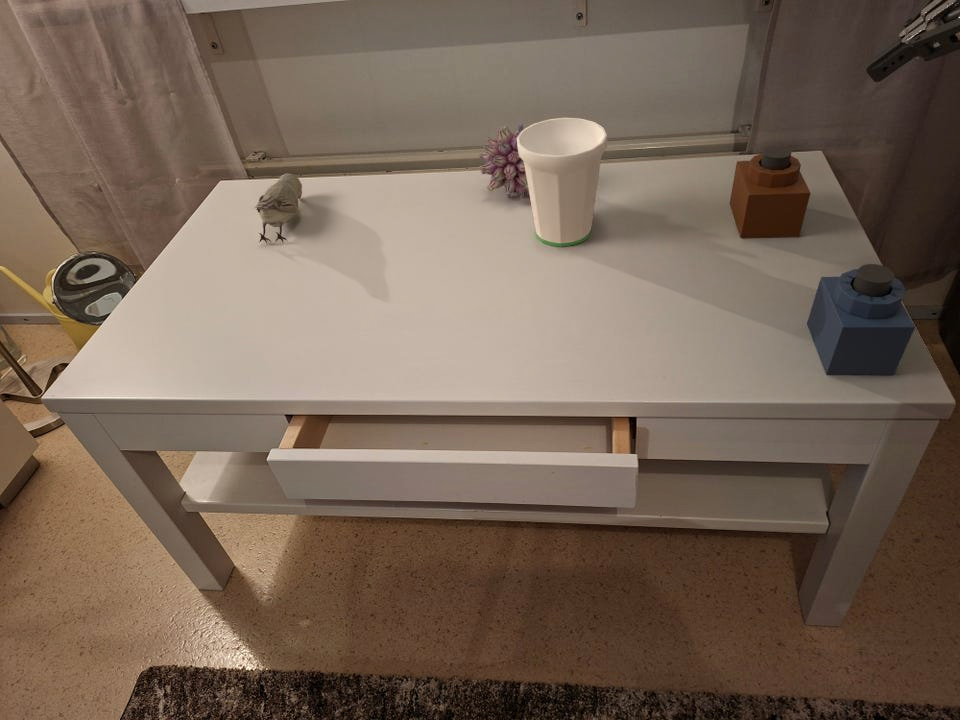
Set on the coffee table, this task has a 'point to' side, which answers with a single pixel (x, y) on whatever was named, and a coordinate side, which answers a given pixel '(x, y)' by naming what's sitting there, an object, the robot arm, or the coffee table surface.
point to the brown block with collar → (768, 199)
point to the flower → (505, 163)
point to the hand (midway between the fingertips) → (869, 74)
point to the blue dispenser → (859, 327)
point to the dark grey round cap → (873, 280)
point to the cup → (562, 176)
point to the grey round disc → (776, 158)
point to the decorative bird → (279, 203)
